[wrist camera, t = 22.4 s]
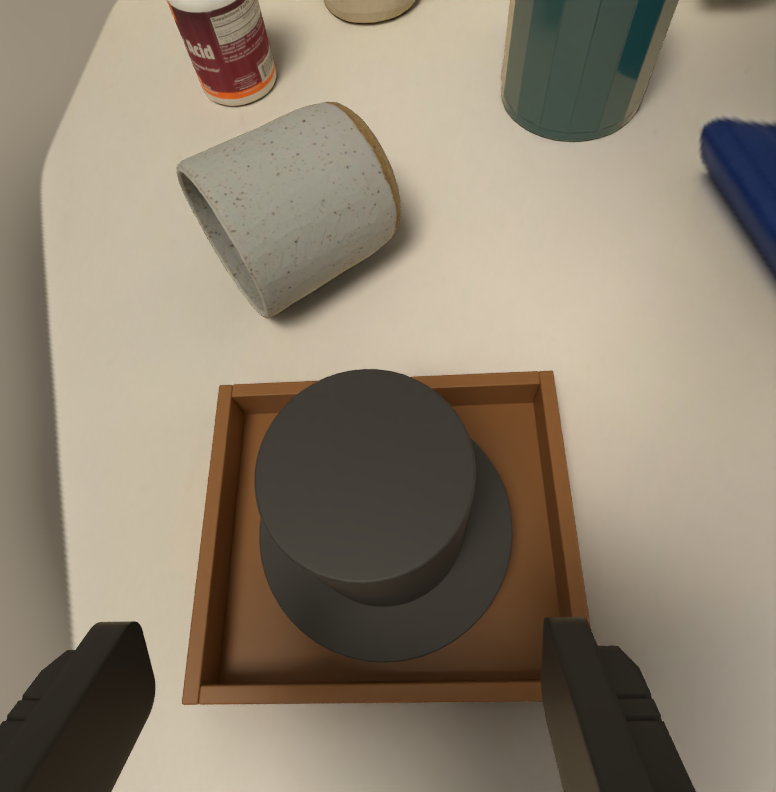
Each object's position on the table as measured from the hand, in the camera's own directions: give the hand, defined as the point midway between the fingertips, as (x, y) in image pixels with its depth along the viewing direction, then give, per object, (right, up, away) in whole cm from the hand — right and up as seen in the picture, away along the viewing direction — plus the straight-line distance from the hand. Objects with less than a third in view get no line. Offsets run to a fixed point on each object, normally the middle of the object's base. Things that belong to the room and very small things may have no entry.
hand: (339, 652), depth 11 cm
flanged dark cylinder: (+1, -1, +12) cm, 12 cm away
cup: (+12, +23, +23) cm, 34 cm away
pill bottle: (-8, +25, +25) cm, 36 cm away
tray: (+1, -1, +13) cm, 13 cm away
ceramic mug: (-4, +13, +20) cm, 24 cm away
